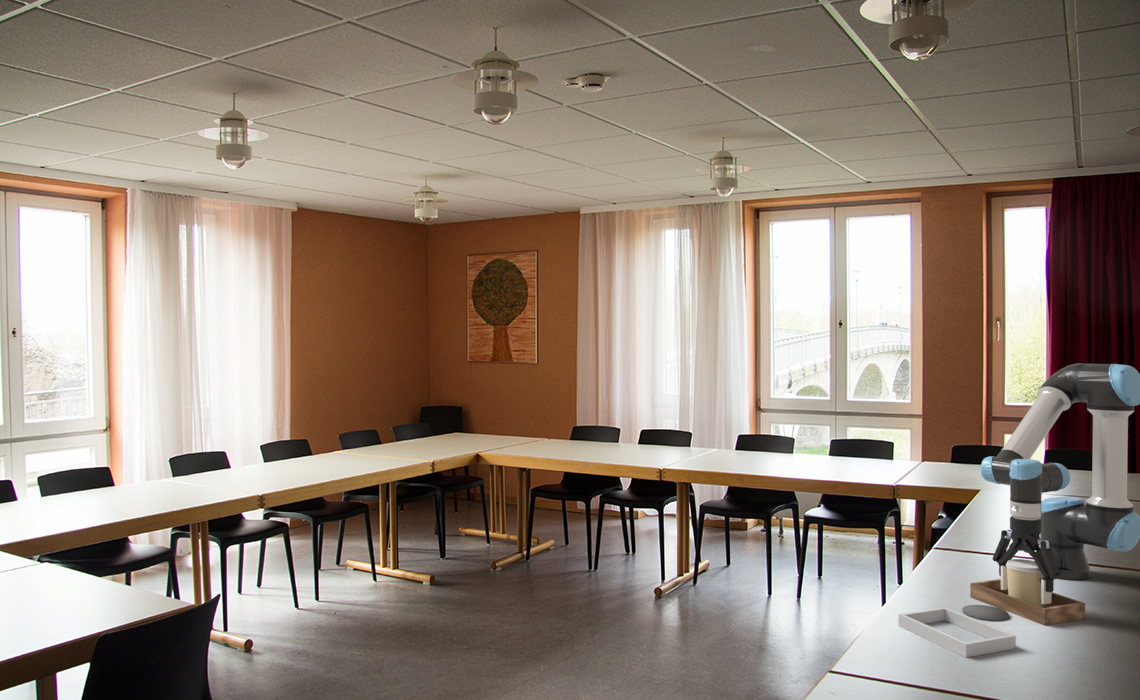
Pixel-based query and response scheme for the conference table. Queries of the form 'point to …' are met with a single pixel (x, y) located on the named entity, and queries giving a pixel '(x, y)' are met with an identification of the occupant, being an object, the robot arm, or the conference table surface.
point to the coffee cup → (1024, 580)
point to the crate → (1028, 604)
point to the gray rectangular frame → (917, 625)
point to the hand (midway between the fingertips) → (1025, 596)
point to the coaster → (985, 612)
